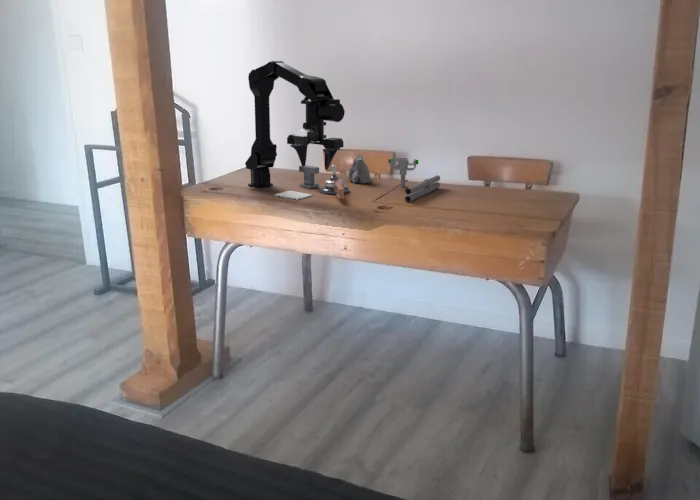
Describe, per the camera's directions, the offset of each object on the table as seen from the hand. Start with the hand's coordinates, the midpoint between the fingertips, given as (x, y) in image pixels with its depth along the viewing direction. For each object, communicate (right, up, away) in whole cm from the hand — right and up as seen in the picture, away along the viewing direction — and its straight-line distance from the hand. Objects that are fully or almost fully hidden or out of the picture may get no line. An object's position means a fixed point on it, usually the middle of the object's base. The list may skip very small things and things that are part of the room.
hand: (314, 167), depth 226 cm
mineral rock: (+15, -1, +30) cm, 34 cm away
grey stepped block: (-3, -4, +20) cm, 20 cm away
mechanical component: (+30, -4, +20) cm, 36 cm away
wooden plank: (+7, -7, +5) cm, 11 cm away
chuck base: (+6, -7, +12) cm, 15 cm away
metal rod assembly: (+36, -8, +8) cm, 38 cm away
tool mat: (-7, -9, +5) cm, 12 cm away
